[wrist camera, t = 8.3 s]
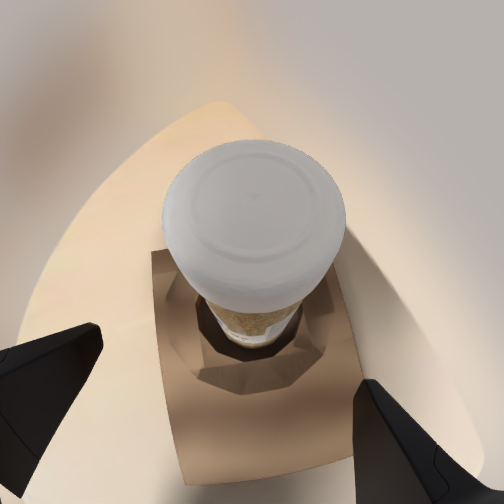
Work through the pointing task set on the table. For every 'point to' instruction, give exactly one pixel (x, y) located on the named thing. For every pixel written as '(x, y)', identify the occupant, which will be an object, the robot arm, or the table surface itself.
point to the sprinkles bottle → (253, 233)
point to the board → (254, 384)
